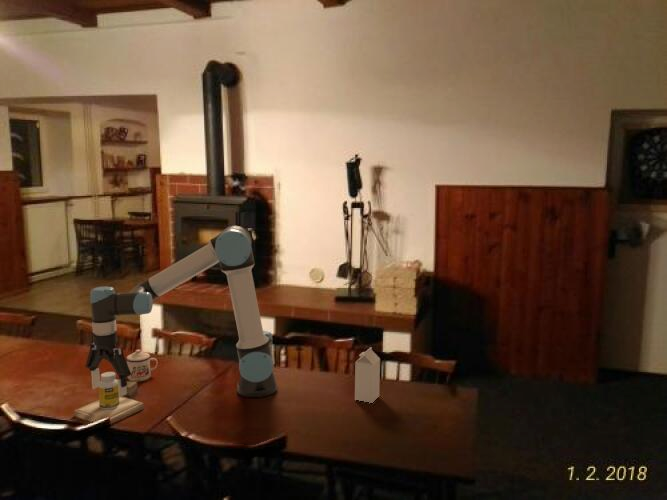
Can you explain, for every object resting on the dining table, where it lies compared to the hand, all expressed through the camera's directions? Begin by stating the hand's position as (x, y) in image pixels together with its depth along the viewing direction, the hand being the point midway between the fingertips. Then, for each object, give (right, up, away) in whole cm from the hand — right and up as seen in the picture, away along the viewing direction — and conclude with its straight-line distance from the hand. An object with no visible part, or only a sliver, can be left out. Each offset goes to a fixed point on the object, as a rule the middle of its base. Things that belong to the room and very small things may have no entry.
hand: (109, 391), depth 187 cm
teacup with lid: (0, -3, +33) cm, 33 cm away
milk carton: (+90, -7, +14) cm, 91 cm away
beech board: (0, -8, +1) cm, 8 cm away
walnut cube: (+1, -6, +14) cm, 15 cm away
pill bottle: (0, -5, +1) cm, 6 cm away
